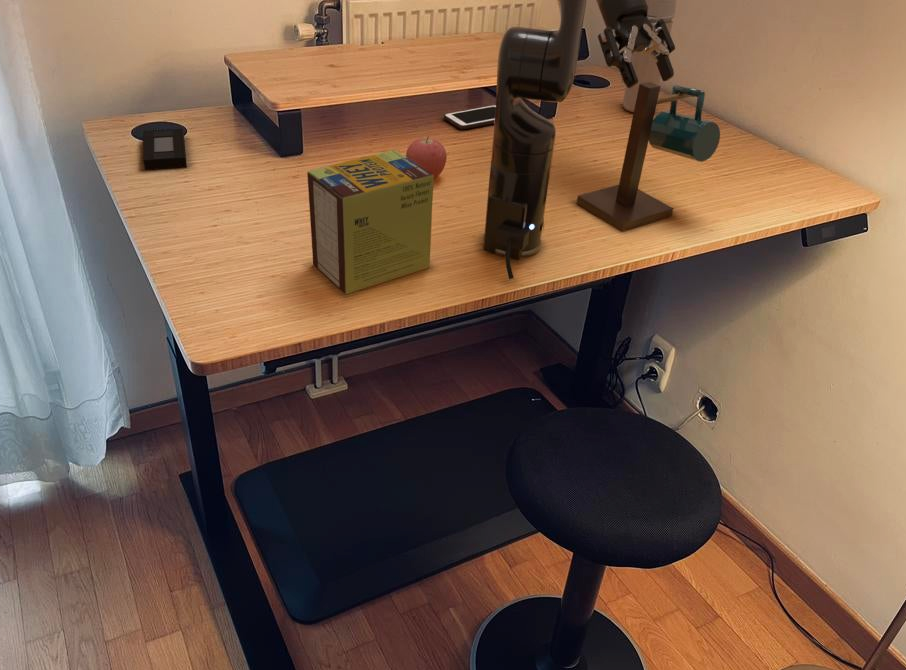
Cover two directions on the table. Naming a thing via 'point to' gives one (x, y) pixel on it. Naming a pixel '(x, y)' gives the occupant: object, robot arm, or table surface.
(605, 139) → the table surface
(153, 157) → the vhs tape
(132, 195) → the table surface
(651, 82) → the mug stand
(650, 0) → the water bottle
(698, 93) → the mug
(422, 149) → the apple
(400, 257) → the protein box
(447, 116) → the cell phone
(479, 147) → the table surface
